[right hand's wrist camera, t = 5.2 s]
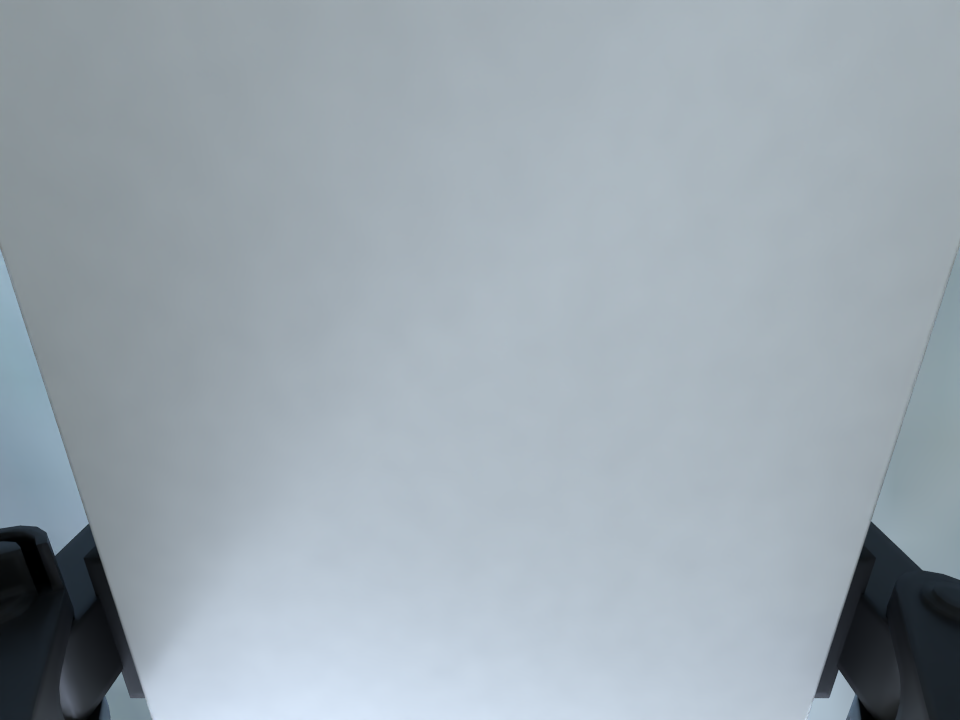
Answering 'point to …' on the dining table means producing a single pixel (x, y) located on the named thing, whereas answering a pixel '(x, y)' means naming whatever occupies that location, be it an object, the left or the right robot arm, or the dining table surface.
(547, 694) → the long white beam
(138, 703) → the dining table surface
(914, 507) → the dining table surface
